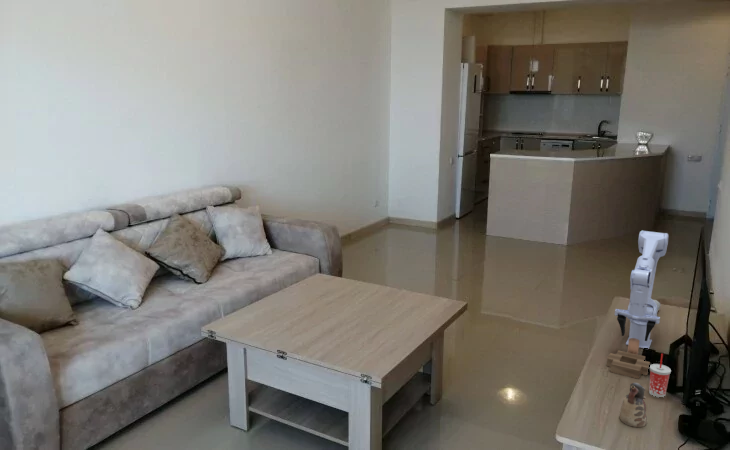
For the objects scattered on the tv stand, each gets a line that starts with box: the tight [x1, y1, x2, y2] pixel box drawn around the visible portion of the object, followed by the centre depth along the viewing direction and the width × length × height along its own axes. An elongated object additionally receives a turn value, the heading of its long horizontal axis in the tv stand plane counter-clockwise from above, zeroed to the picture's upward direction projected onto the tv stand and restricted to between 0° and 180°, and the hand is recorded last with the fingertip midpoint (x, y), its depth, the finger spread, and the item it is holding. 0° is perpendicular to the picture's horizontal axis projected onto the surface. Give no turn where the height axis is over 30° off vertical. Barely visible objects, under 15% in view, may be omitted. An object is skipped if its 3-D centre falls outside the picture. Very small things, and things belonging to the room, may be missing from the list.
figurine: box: [619, 382, 647, 428], centre depth 165 cm, size 7×7×12 cm
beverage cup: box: [648, 353, 672, 398], centre depth 179 cm, size 6×6×14 cm
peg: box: [627, 338, 640, 355], centre depth 205 cm, size 4×4×7 cm
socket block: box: [606, 349, 651, 380], centre depth 198 cm, size 13×13×3 cm
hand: (634, 337), depth 204 cm, fingers open, 7 cm apart
